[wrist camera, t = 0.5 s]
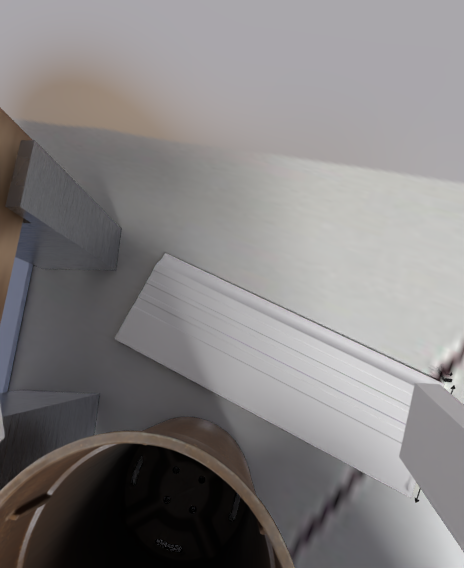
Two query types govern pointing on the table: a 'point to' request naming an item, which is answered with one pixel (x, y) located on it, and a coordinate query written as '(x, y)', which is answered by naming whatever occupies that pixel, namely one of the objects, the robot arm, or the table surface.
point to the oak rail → (3, 222)
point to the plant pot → (139, 504)
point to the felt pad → (13, 318)
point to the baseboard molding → (278, 367)
